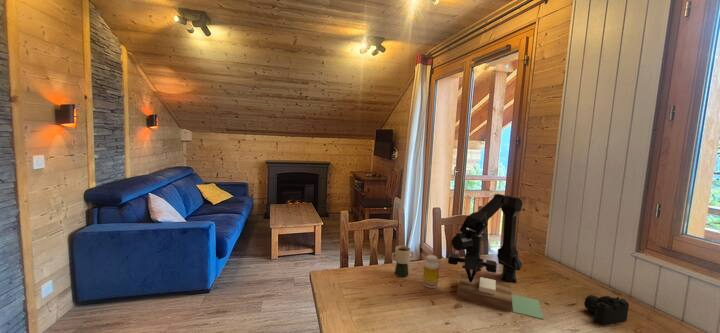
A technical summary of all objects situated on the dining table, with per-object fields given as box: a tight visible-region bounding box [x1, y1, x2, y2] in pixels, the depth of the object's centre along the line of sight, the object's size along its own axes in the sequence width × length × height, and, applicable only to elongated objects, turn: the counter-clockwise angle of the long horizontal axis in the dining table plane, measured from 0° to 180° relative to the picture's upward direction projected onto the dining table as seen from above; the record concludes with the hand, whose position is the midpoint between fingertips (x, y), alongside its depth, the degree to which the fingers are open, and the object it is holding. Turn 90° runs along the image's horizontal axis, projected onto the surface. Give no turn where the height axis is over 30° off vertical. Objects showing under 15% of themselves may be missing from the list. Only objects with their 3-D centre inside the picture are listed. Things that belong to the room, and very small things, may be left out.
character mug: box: [391, 245, 415, 278], centre depth 140 cm, size 11×7×13 cm, turn 104°
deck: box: [456, 274, 513, 312], centre depth 124 cm, size 14×20×4 cm
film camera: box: [583, 294, 630, 326], centre depth 113 cm, size 15×10×9 cm, turn 107°
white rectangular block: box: [479, 276, 497, 295], centre depth 124 cm, size 9×6×2 cm, turn 156°
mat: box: [512, 293, 544, 320], centre depth 118 cm, size 14×10×1 cm
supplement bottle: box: [422, 254, 440, 289], centre depth 132 cm, size 7×7×13 cm
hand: (470, 281), depth 127 cm, fingers closed
